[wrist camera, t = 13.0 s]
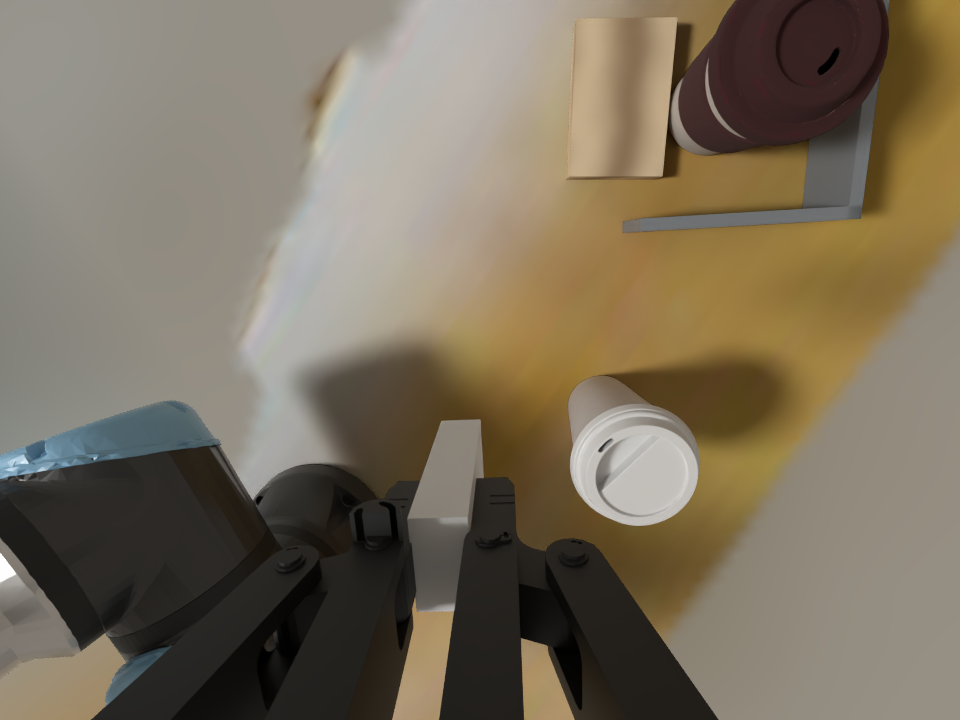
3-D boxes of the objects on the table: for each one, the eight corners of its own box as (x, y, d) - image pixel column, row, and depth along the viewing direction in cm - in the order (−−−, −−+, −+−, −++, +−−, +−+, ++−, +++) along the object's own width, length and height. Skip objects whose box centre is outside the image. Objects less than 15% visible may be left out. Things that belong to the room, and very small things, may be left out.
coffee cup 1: (625, 344, 46) (681, 391, 32) (661, 427, 48) (729, 506, 34) (537, 384, 48) (552, 447, 33) (575, 462, 50) (605, 554, 35)
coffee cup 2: (637, 74, 41) (712, -20, 26) (754, 28, 39) (900, -97, 25) (665, 188, 43) (749, 160, 28) (776, 149, 41) (924, 98, 27)
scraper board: (565, 180, 43) (569, 176, 41) (572, 32, 41) (576, 18, 38) (653, 180, 43) (662, 176, 41) (667, 30, 40) (677, 17, 38)
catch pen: (622, 232, 44) (640, 231, 38) (626, -17, 39) (648, -62, 33) (812, 221, 43) (860, 218, 37) (840, -36, 38) (901, -86, 32)
